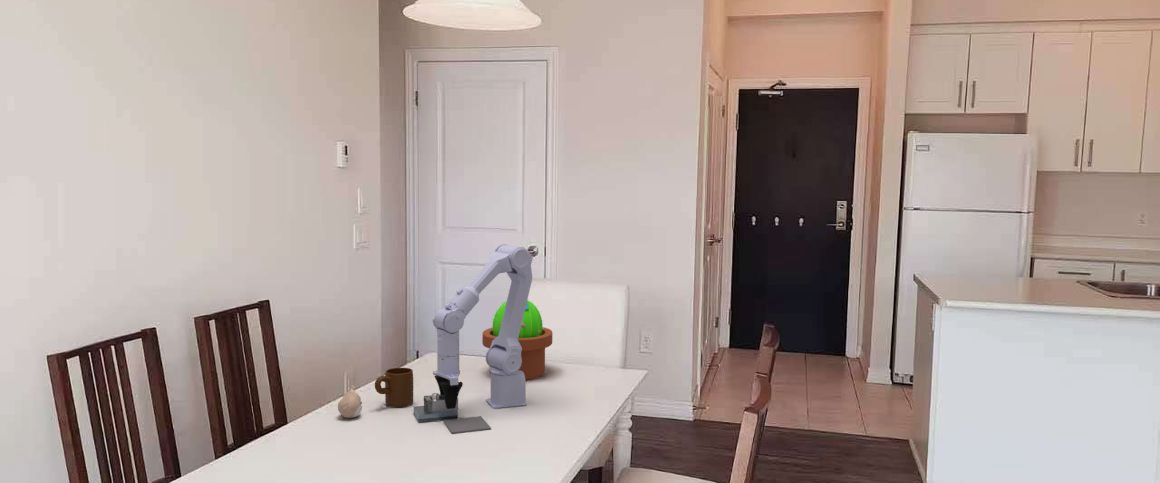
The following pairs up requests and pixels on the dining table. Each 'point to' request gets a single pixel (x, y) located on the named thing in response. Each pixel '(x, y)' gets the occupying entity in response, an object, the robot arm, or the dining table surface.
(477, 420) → the mat
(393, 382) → the mug
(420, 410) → the metal base with post
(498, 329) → the potted cactus
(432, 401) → the gray tabletop stand
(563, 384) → the dining table surface
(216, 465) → the dining table surface
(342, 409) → the garlic bulb
